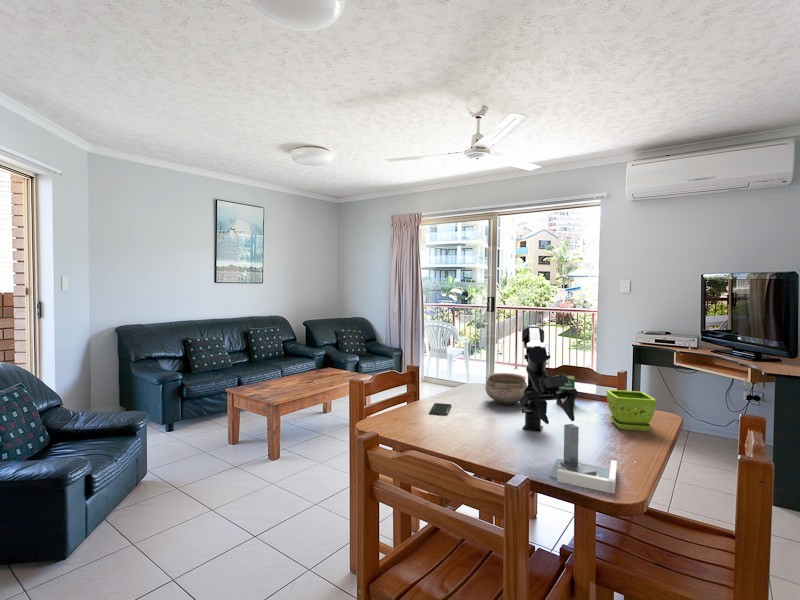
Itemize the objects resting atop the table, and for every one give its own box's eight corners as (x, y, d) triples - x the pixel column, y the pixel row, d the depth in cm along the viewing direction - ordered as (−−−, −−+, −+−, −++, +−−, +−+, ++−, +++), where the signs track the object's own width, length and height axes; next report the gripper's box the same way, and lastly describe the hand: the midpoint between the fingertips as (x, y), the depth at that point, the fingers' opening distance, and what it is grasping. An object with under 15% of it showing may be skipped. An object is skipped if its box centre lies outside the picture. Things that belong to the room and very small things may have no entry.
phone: (451, 404, 189) (447, 413, 174) (451, 406, 189) (447, 416, 175) (434, 402, 191) (428, 412, 176) (434, 405, 191) (428, 415, 176)
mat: (556, 459, 130) (556, 458, 130) (610, 470, 123) (610, 468, 123) (549, 477, 118) (549, 475, 118) (608, 490, 111) (608, 488, 111)
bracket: (559, 464, 125) (560, 425, 125) (575, 462, 127) (576, 423, 126) (579, 477, 117) (580, 435, 116) (596, 475, 118) (597, 433, 118)
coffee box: (555, 404, 193) (556, 375, 193) (555, 402, 196) (556, 374, 195) (574, 405, 190) (575, 377, 190) (574, 404, 193) (575, 375, 192)
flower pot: (656, 434, 154) (657, 399, 153) (615, 431, 156) (616, 397, 156) (642, 422, 167) (643, 390, 167) (604, 419, 170) (605, 388, 170)
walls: (565, 461, 129) (565, 451, 129) (616, 471, 122) (616, 461, 122) (557, 481, 115) (557, 470, 115) (614, 493, 109) (614, 482, 109)
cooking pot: (523, 413, 179) (524, 384, 178) (479, 407, 186) (479, 380, 186) (530, 399, 202) (531, 373, 201) (491, 394, 209) (491, 370, 209)
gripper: (525, 366, 131) (546, 411, 121) (575, 363, 136) (599, 406, 126) (511, 385, 139) (530, 429, 129) (559, 382, 144) (581, 424, 134)
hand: (560, 422), depth 129 cm, fingers open, 9 cm apart
